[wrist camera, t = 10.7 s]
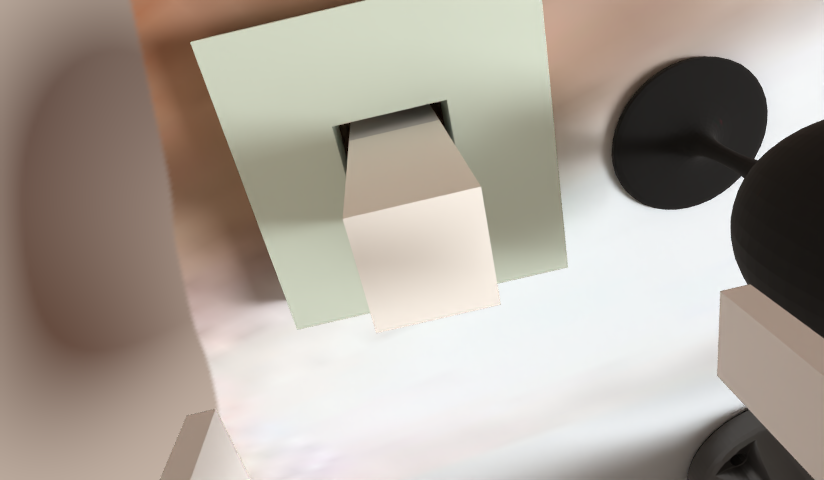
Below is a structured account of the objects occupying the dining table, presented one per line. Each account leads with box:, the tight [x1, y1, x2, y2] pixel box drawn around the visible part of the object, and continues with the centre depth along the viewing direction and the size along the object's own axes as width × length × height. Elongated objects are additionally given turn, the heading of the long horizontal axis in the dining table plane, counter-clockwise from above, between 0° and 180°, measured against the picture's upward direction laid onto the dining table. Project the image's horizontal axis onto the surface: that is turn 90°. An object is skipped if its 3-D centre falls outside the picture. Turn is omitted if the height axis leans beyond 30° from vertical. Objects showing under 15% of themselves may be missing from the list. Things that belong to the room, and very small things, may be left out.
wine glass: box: [612, 56, 824, 338], centre depth 26 cm, size 10×10×20 cm
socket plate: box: [190, 0, 568, 330], centre depth 32 cm, size 18×18×4 cm
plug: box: [343, 104, 501, 333], centre depth 27 cm, size 5×5×16 cm
